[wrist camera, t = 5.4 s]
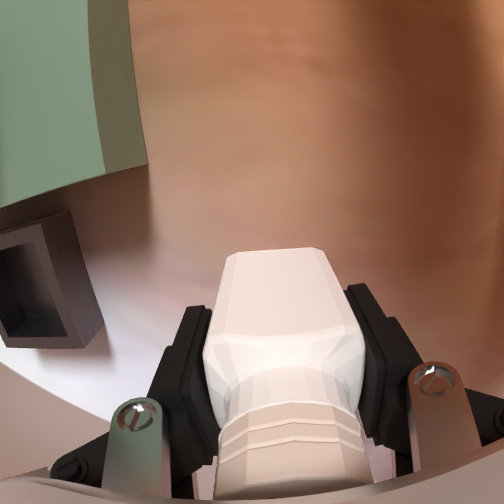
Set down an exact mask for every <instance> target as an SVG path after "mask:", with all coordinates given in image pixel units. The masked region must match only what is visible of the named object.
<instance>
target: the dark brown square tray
mask: <svg viewBox="0 0 504 504" xmlns="http://www.w3.org/2000/svg"><path fill="white" fill-rule="evenodd" d="M103 323H104V320H103V317H102V315H101V312H100V309H99V306H98V304H97V301H96V298H95V295H94V292H93V289H92V286H91V283H90V280H89V277H88V274H87V271H86V268H85V264H84V261H83V258H82V254H81V251H80V247H79V244H78V240H77V237H76V233H75V229H74V225H73V221H72V217H71V213H70V211H66V212H62V213H59V214H55V215H51V216H48V217H44V218H41V219H37V220H34V221H31V222H27V223H24V224H21V225H17V226H14V227H11V228H8V229H5V230H1V231H0V335H1V337H2V339H3V341H4V343H5V345H6V347H9V348H46V349H77V348H85V347H86V346H87V344H88V343H89V342H90V340H91V339H92V338H93V336H94V335H95V334H96V332H97V331H98V330H99V328H100V327H101V326H102V324H103Z"/></svg>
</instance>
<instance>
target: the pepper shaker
mask: <svg viewBox="0 0 504 504" xmlns="http://www.w3.org/2000/svg"><path fill="white" fill-rule="evenodd" d="M202 354H203V361H204V368H205V374H206V381H207V386H208V391H209V395H210V400H211V403H212V407H213V411H214V414H215V418H216V420H217V423H218V425H219V427H220V428H221V431H220V434H219V437H218V440H219V450H218V458H217V468H216V475H215V479H216V480H215V485H214V492H213V500H220V501H234V500H264V499H278V498H289V497H299V496H307V495H315V494H322V493H328V492H334V491H340V490H345V489H350V488H355V487H360V486H365V485H369V484H374V482H373V478H372V474H371V470H370V466H369V462H368V458H367V455H366V451H365V447H364V443H363V440H362V437H361V425H360V423H359V421H358V419H357V417H356V415H355V412H356V410H357V407H358V403H359V399H360V394H361V389H362V383H363V376H364V368H365V355H366V346H365V341H364V336H363V334H362V331H361V329H360V326H359V324H358V322H357V320H356V318H355V316H354V313H353V311H352V309H351V307H350V305H349V303H348V301H347V299H346V297H345V294H344V292H343V290H342V288H341V286H340V284H339V282H338V280H337V278H336V276H335V274H334V272H333V270H332V268H331V266H330V264H329V262H328V260H327V258H326V256H325V254H324V252H323V251H322V250H319V249H316V248H313V247H309V248H294V249H279V250H264V251H249V252H237V253H235V254H233V255H231V256H229V257H227V260H226V263H225V266H224V270H223V273H222V277H221V281H220V285H219V289H218V293H217V297H216V301H215V305H214V309H213V313H212V317H211V321H210V325H209V329H208V333H207V337H206V341H205V345H204V349H203V353H202Z"/></svg>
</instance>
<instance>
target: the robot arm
mask: <svg viewBox="0 0 504 504" xmlns="http://www.w3.org/2000/svg"><path fill="white" fill-rule="evenodd" d="M343 292H344V294H345V297H346V299H347V301H348V303H349V305H350V307H351V309H352V311H353V313H354V316H355V318H356V320H357V322H358V324H359V326H360V329H361V331H362V334H363V336H364V341H365V346H366V355H365V368H364V376H363V383H362V389H361V394H360V399H359V403H358V410H359V413H360V417H361V420H362V423H363V427H364V430H365V434H366V437H367V438H371V437H373V440H374V444H375V446H378V445H382V444H383V445H384V446H385V447H387V448H390V449H392V450H391V456H392V479H390V480H386V481H382V482H378V483H374V484H369V485H365V486H360V487H355V488H350V489H345V490H340V491H334V492H328V493H322V494H315V495H307V496H299V497H289V498H278V499H264V500H234V501H220V500H199V491H198V483H197V474H196V471H197V470H198V469H199V468H201V467H202V465H212V462H213V456H218V450H219V440H218V437H219V434H220V431H221V428H220V427H219V425H218V423H217V420H216V418H215V414H214V411H213V407H212V403H211V400H210V395H209V391H208V386H207V381H206V374H205V368H204V361H203V354H202V353H203V349H204V345H205V341H206V337H207V333H208V329H209V325H210V321H211V317H212V311H211V309H206V308H205V306H204V305H199V306H190V307H187V308H186V311H185V313H184V316H183V318H182V321H181V323H180V326H179V329H178V331H177V334H176V336H175V339H174V342H173V344H172V346H167V347H166V349H165V350H164V353H163V356H162V358H161V361H160V363H159V366H158V368H157V371H156V373H155V376H154V378H153V381H152V384H151V386H150V389H149V391H148V394H147V397H140V398H135V399H131V400H129V401H127V402H124V403H123V404H122V405H120V406H119V407H118V408H117V410H116V411H115V412H114V414H113V417H112V421H111V427H110V431H109V432H107V433H105V434H104V435H102V436H100V437H98V438H96V439H95V440H92V441H91V442H89V443H87V444H85V445H83V446H81V447H79V448H77V449H75V450H73V451H71V452H70V453H67V454H66V455H63V456H62V457H61V458H59V459H58V460H57V461H56V462H55V463H54V464H53V467H52V469H51V470H50V469H49V468H48V467H45V468H41V469H38V470H34V471H31V472H27V473H23V474H20V475H16V476H12V477H8V478H4V479H2V480H0V504H504V399H502V398H498V397H494V396H491V395H487V394H484V393H480V392H477V391H473V390H470V389H466V388H464V386H463V383H462V380H461V378H460V375H459V374H458V372H457V371H456V370H455V369H454V368H453V367H452V366H450V365H448V364H446V363H441V362H426V363H424V362H423V361H422V359H421V357H420V356H419V354H418V352H417V351H416V349H415V348H414V346H413V344H412V343H411V341H410V339H409V338H408V336H407V335H406V333H405V331H404V330H403V328H402V327H401V325H400V324H399V322H398V321H397V319H396V318H395V317H388V318H386V316H385V314H384V313H383V311H382V309H381V308H380V306H379V304H378V303H377V301H376V300H375V298H374V296H373V295H372V293H371V292H370V290H369V289H368V287H367V285H366V284H365V283H361V284H354V285H348V288H347V290H344V291H343Z"/></svg>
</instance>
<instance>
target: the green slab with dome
mask: <svg viewBox="0 0 504 504" xmlns="http://www.w3.org/2000/svg"><path fill="white" fill-rule="evenodd" d="M147 164H148V160H147V154H146V148H145V143H144V137H143V131H142V125H141V118H140V112H139V105H138V98H137V91H136V84H135V76H134V68H133V59H132V50H131V40H130V30H129V18H128V4H127V0H0V209H2V208H5V207H7V206H10V205H13V204H15V203H18V202H21V201H24V200H27V199H29V198H32V197H35V196H38V195H41V194H44V193H47V192H50V191H53V190H56V189H60V188H63V187H66V186H69V185H72V184H76V183H79V182H82V181H86V180H89V179H93V178H96V177H100V176H104V175H107V174H111V173H115V172H119V171H122V170H126V169H130V168H134V167H138V166H143V165H147Z"/></svg>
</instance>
